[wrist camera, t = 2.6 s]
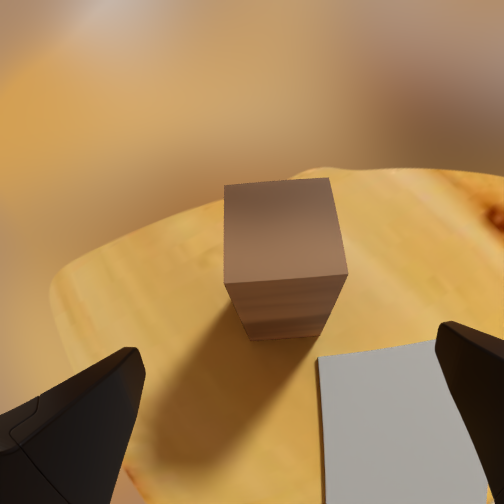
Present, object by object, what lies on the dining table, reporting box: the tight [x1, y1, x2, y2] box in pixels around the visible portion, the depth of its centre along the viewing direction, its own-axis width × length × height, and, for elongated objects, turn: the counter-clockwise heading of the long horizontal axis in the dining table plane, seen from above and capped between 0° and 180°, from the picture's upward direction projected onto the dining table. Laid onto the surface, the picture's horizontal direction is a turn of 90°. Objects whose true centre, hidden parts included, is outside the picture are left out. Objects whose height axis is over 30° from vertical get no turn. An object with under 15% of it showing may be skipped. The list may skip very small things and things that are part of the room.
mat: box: [318, 339, 488, 504], centre depth 15 cm, size 16×12×1 cm
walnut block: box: [224, 178, 348, 341], centre depth 17 cm, size 4×4×10 cm
